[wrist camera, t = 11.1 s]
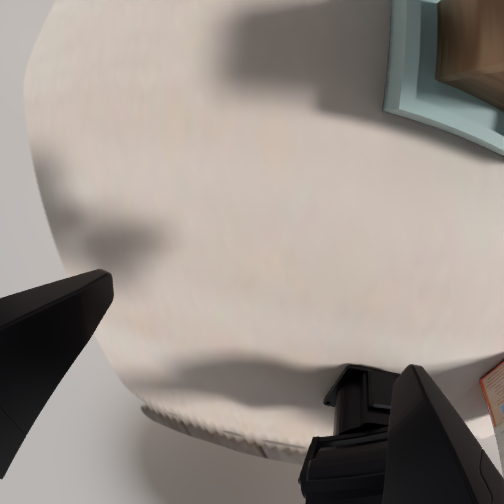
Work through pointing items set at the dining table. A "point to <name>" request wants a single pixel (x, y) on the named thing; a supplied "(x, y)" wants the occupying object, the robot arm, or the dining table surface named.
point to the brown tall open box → (472, 48)
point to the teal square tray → (432, 81)
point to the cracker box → (496, 404)
